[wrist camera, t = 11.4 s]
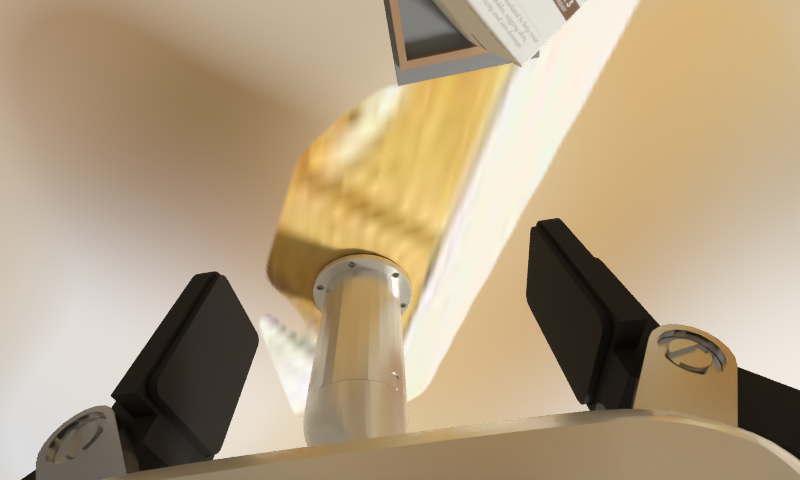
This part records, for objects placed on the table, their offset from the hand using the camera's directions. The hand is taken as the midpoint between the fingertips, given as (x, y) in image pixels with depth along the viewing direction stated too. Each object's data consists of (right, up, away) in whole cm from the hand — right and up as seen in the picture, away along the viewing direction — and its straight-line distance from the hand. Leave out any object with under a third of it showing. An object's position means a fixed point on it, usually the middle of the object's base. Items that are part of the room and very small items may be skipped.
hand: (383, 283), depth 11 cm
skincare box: (+5, +20, +15) cm, 26 cm away
